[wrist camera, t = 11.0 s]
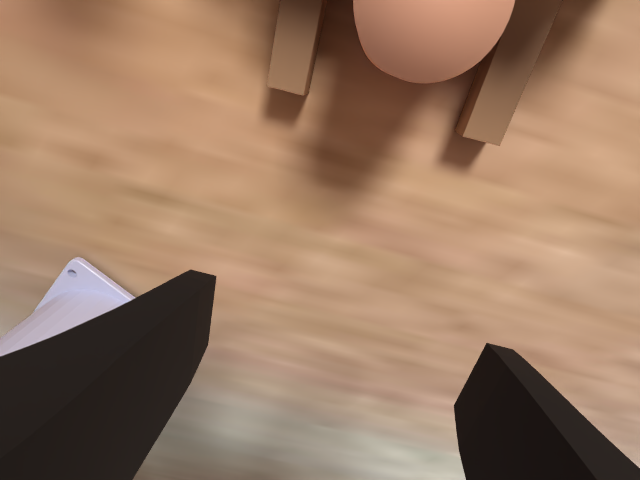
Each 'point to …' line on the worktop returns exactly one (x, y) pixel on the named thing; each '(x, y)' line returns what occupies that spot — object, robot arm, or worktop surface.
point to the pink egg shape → (429, 35)
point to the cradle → (489, 83)
